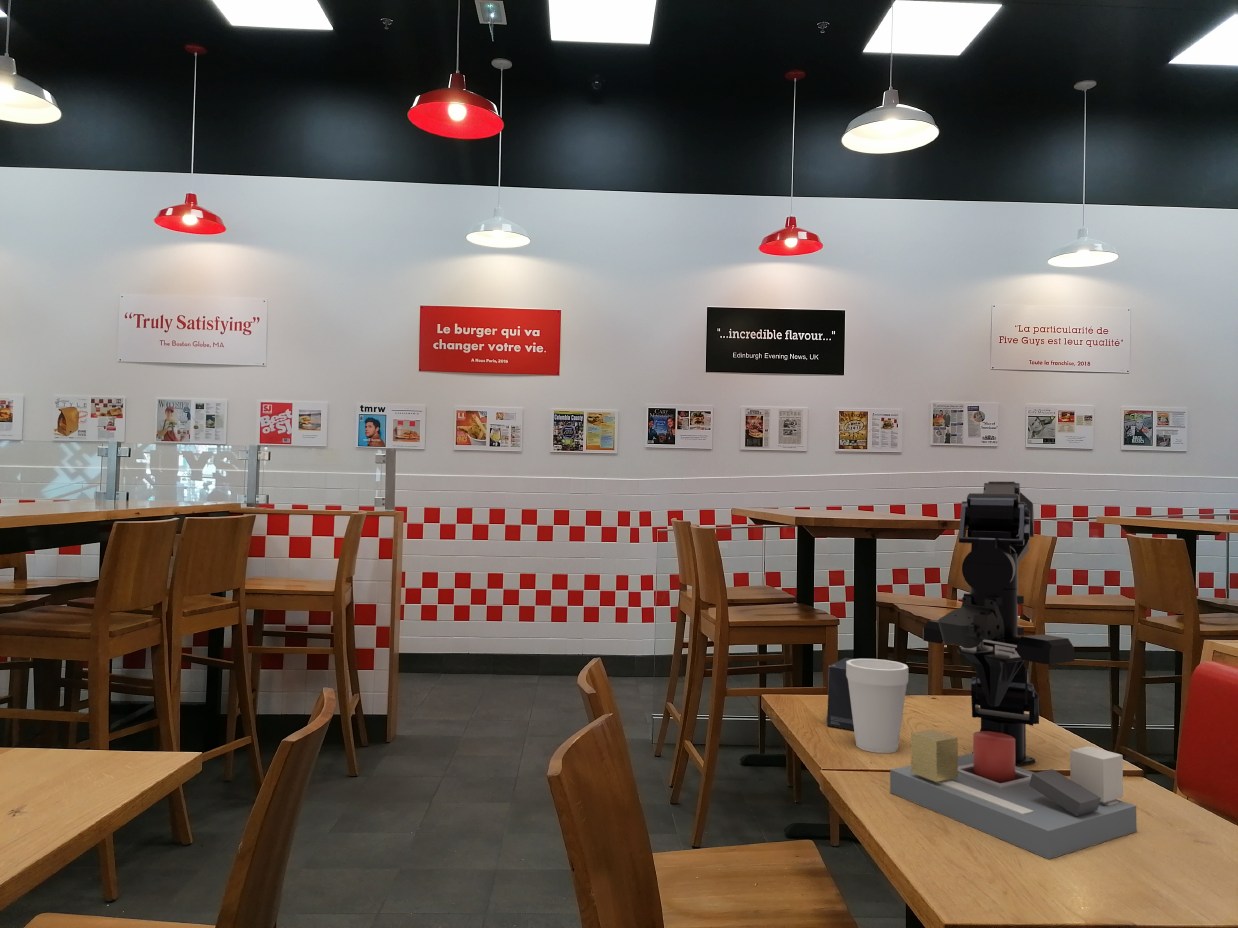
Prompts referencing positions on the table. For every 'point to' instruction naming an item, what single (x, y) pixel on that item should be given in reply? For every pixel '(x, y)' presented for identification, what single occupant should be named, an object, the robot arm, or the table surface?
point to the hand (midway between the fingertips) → (993, 705)
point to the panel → (1014, 810)
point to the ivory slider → (1098, 772)
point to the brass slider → (934, 755)
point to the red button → (994, 756)
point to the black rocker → (1064, 792)
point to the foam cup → (877, 702)
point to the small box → (839, 697)
